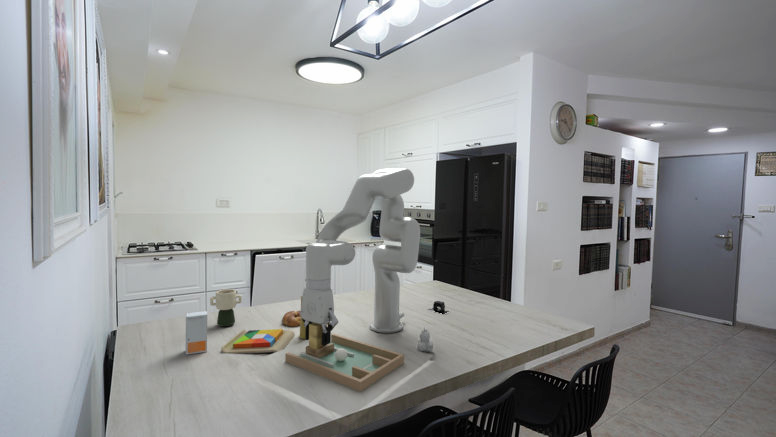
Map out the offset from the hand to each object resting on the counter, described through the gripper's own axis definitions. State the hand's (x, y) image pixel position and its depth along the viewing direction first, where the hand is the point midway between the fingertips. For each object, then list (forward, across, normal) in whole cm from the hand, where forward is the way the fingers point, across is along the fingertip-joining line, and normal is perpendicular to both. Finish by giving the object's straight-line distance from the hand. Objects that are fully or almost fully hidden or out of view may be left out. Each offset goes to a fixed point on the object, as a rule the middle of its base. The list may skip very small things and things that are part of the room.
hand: (317, 341), depth 112 cm
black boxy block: (+6, +8, +66) cm, 67 cm away
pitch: (+5, +11, 0) cm, 12 cm away
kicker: (+4, +1, 0) cm, 4 cm away
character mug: (+5, -48, -1) cm, 48 cm away
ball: (+4, +10, 0) cm, 10 cm away
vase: (+5, -15, +10) cm, 19 cm away
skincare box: (+5, -33, -20) cm, 39 cm away
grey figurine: (+5, +25, +23) cm, 34 cm away
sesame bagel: (+5, -30, +18) cm, 35 cm away
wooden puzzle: (+6, -23, -4) cm, 24 cm away
